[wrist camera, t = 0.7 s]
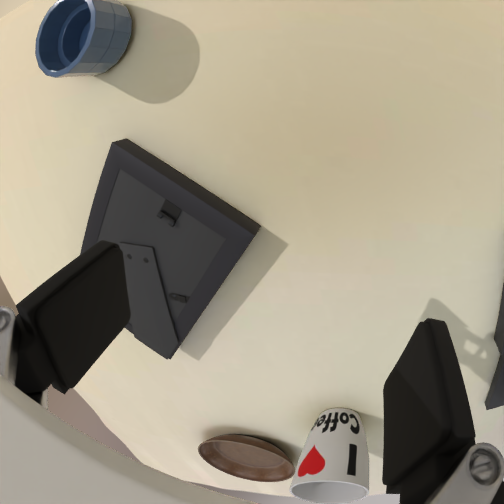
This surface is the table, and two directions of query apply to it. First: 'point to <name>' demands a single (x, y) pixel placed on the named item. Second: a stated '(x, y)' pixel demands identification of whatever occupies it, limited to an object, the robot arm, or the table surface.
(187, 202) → the picture frame
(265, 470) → the saucer
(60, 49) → the blue round container
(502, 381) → the panel
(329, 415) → the cup
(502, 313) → the scale
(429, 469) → the robot arm
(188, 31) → the table surface
